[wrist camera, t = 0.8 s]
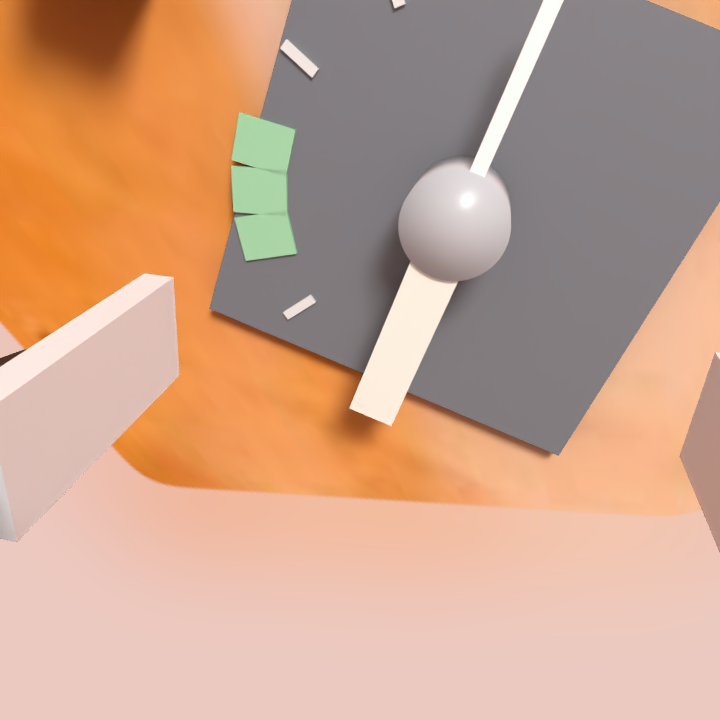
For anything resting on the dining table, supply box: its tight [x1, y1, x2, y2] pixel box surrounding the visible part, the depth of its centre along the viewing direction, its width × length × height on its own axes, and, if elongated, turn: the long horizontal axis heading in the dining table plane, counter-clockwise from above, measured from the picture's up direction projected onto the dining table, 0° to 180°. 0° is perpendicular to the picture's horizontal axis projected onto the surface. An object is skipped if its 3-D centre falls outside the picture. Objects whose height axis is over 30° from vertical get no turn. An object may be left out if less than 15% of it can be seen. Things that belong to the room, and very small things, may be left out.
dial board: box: [209, 0, 720, 456], centre depth 34 cm, size 23×22×1 cm
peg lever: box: [349, 0, 564, 426], centre depth 31 cm, size 21×5×4 cm, turn 160°
